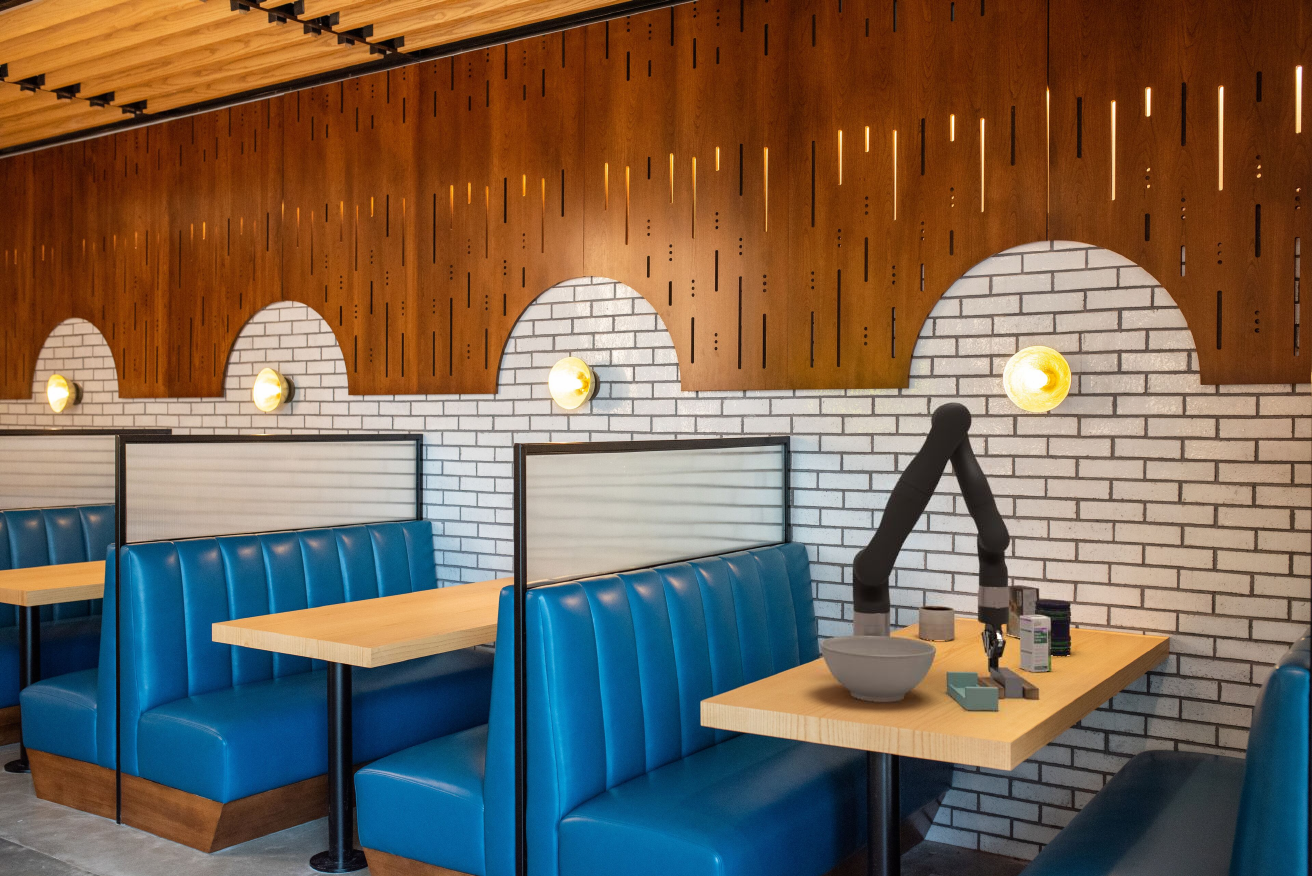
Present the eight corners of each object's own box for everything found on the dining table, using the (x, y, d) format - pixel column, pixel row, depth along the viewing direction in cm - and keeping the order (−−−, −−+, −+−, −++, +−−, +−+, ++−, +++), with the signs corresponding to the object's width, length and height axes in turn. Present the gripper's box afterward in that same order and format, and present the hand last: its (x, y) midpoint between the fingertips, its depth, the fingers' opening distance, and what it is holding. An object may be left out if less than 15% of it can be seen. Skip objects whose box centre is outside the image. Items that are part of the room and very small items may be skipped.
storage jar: (1036, 656, 295) (1036, 603, 295) (1032, 650, 305) (1032, 599, 305) (1073, 657, 293) (1073, 605, 293) (1068, 651, 302) (1068, 600, 303)
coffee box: (1040, 639, 322) (1040, 588, 323) (1023, 640, 320) (1023, 588, 321) (1021, 634, 331) (1021, 584, 331) (1005, 635, 329) (1004, 585, 329)
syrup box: (1033, 673, 271) (1032, 617, 272) (1019, 668, 277) (1019, 614, 277) (1051, 671, 273) (1051, 617, 273) (1037, 667, 279) (1037, 613, 279)
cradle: (966, 710, 230) (966, 688, 230) (946, 692, 248) (946, 671, 248) (998, 711, 230) (998, 688, 230) (975, 692, 248) (975, 671, 248)
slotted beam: (991, 698, 242) (991, 688, 242) (977, 687, 254) (977, 677, 254) (1038, 699, 241) (1038, 688, 241) (1022, 687, 253) (1022, 677, 253)
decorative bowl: (957, 697, 243) (957, 645, 244) (894, 716, 225) (895, 660, 225) (862, 679, 263) (862, 631, 263) (797, 695, 244) (797, 644, 244)
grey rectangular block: (1005, 698, 243) (1005, 677, 243) (990, 687, 255) (990, 667, 255) (1022, 699, 243) (1022, 677, 243) (1006, 687, 255) (1006, 667, 255)
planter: (917, 640, 319) (917, 609, 319) (919, 635, 329) (919, 605, 329) (954, 642, 316) (954, 611, 316) (954, 637, 326) (954, 606, 326)
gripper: (970, 600, 266) (970, 667, 266) (986, 607, 253) (986, 678, 253) (1000, 600, 266) (1000, 667, 266) (1016, 607, 253) (1016, 678, 252)
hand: (993, 672), depth 259 cm, fingers closed
